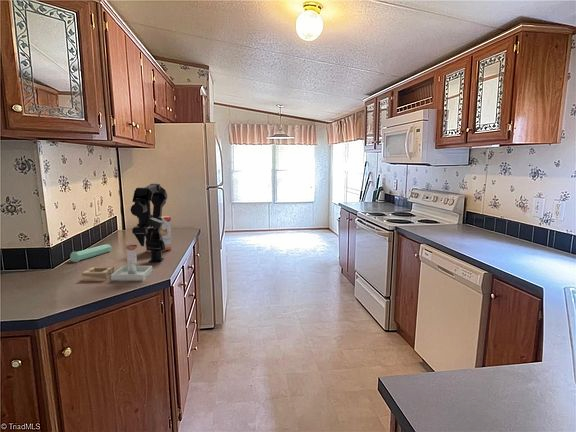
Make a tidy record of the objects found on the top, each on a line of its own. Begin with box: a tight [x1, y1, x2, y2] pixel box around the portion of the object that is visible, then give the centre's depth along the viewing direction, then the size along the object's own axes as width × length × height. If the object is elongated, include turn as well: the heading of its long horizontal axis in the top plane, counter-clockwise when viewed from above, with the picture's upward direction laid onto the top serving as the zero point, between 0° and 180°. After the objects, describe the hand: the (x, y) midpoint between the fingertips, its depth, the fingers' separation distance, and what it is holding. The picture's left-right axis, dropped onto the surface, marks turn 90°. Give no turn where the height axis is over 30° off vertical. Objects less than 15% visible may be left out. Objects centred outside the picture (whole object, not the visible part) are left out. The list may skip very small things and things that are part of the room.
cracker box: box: [145, 215, 172, 254], centre depth 212 cm, size 14×6×21 cm, turn 126°
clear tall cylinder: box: [125, 244, 138, 274], centre depth 164 cm, size 5×5×14 cm
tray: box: [110, 265, 153, 282], centre depth 165 cm, size 14×14×3 cm
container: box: [69, 243, 112, 263], centre depth 199 cm, size 6×6×25 cm
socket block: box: [81, 266, 115, 282], centre depth 163 cm, size 10×10×4 cm
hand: (145, 244), depth 174 cm, fingers open, 9 cm apart
